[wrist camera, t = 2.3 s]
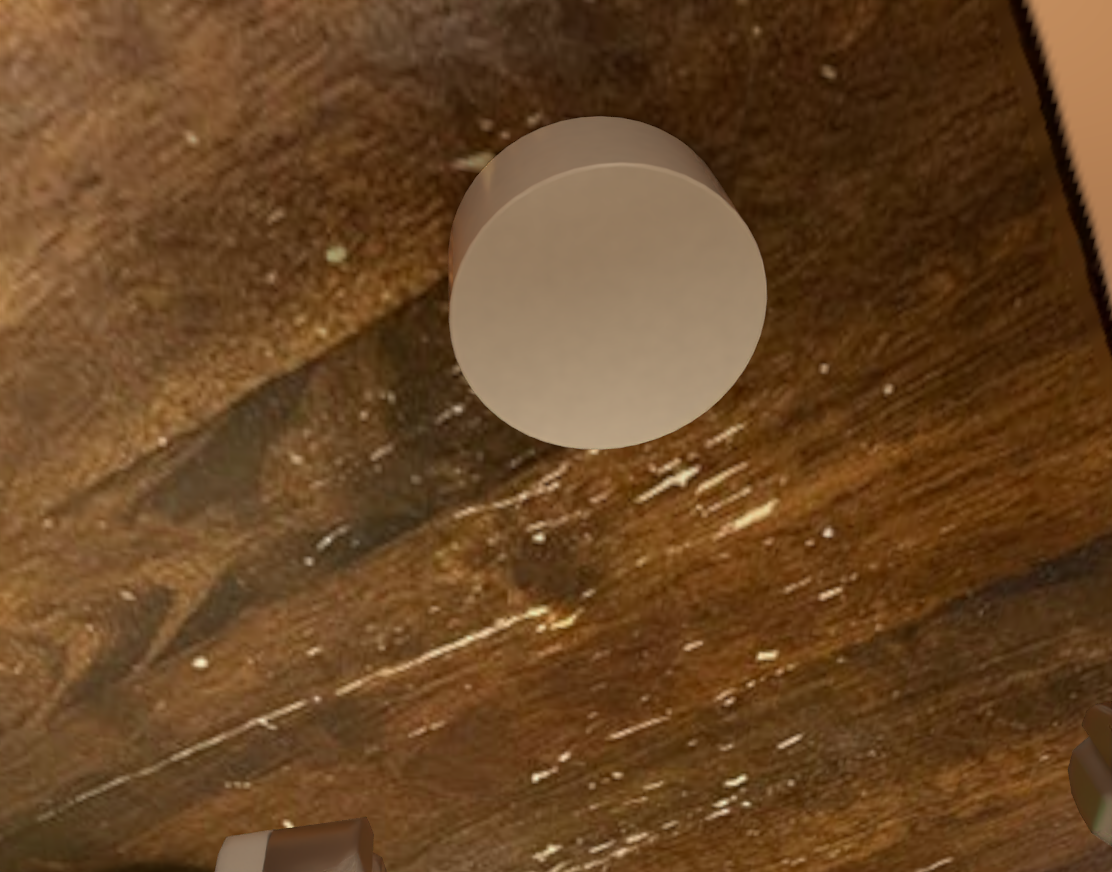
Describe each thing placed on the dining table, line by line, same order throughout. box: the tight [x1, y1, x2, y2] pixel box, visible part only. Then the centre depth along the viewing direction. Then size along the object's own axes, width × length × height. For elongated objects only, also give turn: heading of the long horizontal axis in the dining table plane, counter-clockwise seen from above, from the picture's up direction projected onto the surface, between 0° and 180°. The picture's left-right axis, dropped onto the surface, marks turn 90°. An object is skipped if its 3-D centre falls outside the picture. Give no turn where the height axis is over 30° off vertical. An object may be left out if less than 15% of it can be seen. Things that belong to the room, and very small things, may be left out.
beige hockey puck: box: [448, 116, 767, 450], centre depth 21 cm, size 7×7×3 cm
